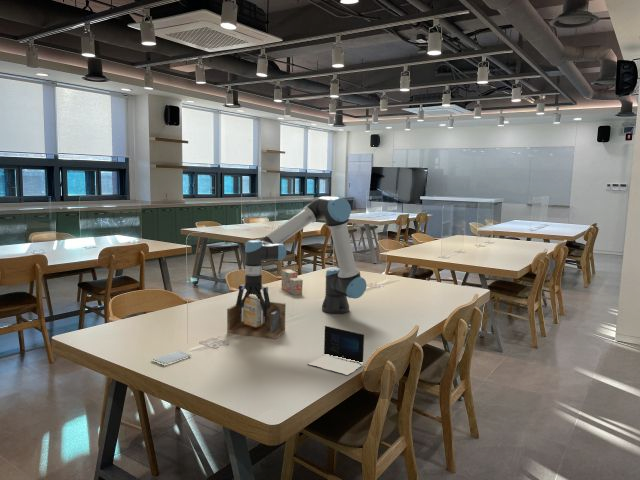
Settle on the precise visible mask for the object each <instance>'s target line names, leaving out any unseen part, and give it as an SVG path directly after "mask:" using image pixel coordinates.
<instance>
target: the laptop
mask: <svg viewBox="0 0 640 480" xmlns="http://www.w3.org/2000/svg"><path fill="white" fill-rule="evenodd" d="M323 342H324V344H323V347H324V348H323V355H324V354H329V355H330V356H331V355H333V356H338V357H342V358H346V359H351V360H355V361H359V362H363V363H364V351H365V349H364V348H365V334H364V333H360V332H356V331H351V330H346V329H341V328H338V327H332V326H328V325H324V339H323Z"/></svg>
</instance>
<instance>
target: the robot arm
mask: <svg viewBox="0 0 640 480" xmlns="http://www.w3.org/2000/svg"><path fill="white" fill-rule="evenodd" d="M351 213H352V207H351V204H350V202H349V201H348V200H347V199H346V198H343V197H339V196H327V195H323V196H320V197H318V198H316V199H314V200H313V201H311V202H310V203H309V202H308V204H306V205H305V206H304V207H303V208H302V210H301V211H299V212H298V213H297V214H295V215H294V216H293V217H291V218H290V219H288V220H287V221H285V222H284V223H283V224H281V225H279V226H278V227H277V228H276V229H274V230H273V231H270V233H268V234H267V235H265V236H264V237H262V238H261V239H255V240H254V239H251V240H247V241H246V242H245V249H244V252H245V253H244V256H245V258H244V259H245V267H244V269H245V270H244V271H245V272H244V273H245V277H244V278H245V279H244V281H245V284H240V285H239V286H238V294H237V299H236V302H235V304H236V305H237V306H239V307H240V314H242V322H243V321H244V302H245V300H246V298H247V297H248V296H250V295H253V296H255V297H258V299H260V304H261V306H262V310H261V324H263V323H264V322H265V316H266V315H267V309H269V308H270V307H271V305H270V302H271V301H270V300H271V299H270V296H269V292H268V291H269V287H268V286H263V284H262V283H263V281H262V279H263V277H262V276H263V275H262V273H263V269H262V268H263V267H262V266H263V262H265V261H266V262H267V261H280V260H284V259H285V258H286V257H287V247H286V246H285V244H284V242H285V241H287V240H288V239H290V238H291V237H292V236H294V235H296V234H297V233H298V232H299V231H301V230H303V229H304V228H305V227H307V226H308V225H310V224H311V223H312V224H314V223H316V222H318V221H319V220H324V221H325V225H326V227H327V228H329V229H330V233H331V237H332V242H333V246H334V252H335V255H336V260H337V264H338V265H337V266H338V268H330V269H327V270H326V272H325V295H324V299H323V302H322V305H321V310H322V311H323V312H325V313H328V314H334V315H335V314H336V315H337V314H347V313H348V312H350V304H349V302H348V298H350V299H354V300H355V299H359V298H361V297H362V296H363V295H364V294H365V292H366V290H367V281H366V279H365V278H364V277H362V276H361V271H360V269H359V268H357V266H356V260H355V258H354V253H353V247H352V243H351V239H350V233H349V229H348V223H350V216H351ZM245 290H246V292H245V294H244V291H245ZM261 290H262V292H263V293H262V292H261ZM243 294H244V296H243ZM262 298H263V299H262ZM242 299H243V300H242ZM241 300H242V302H241Z"/></svg>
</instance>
